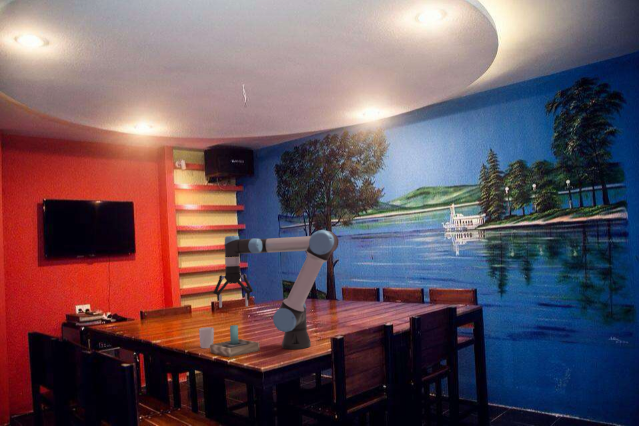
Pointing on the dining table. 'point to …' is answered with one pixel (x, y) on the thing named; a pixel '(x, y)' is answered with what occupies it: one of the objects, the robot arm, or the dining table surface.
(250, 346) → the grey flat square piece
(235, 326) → the peg
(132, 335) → the dining table surface
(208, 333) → the white cup
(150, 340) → the dining table surface
